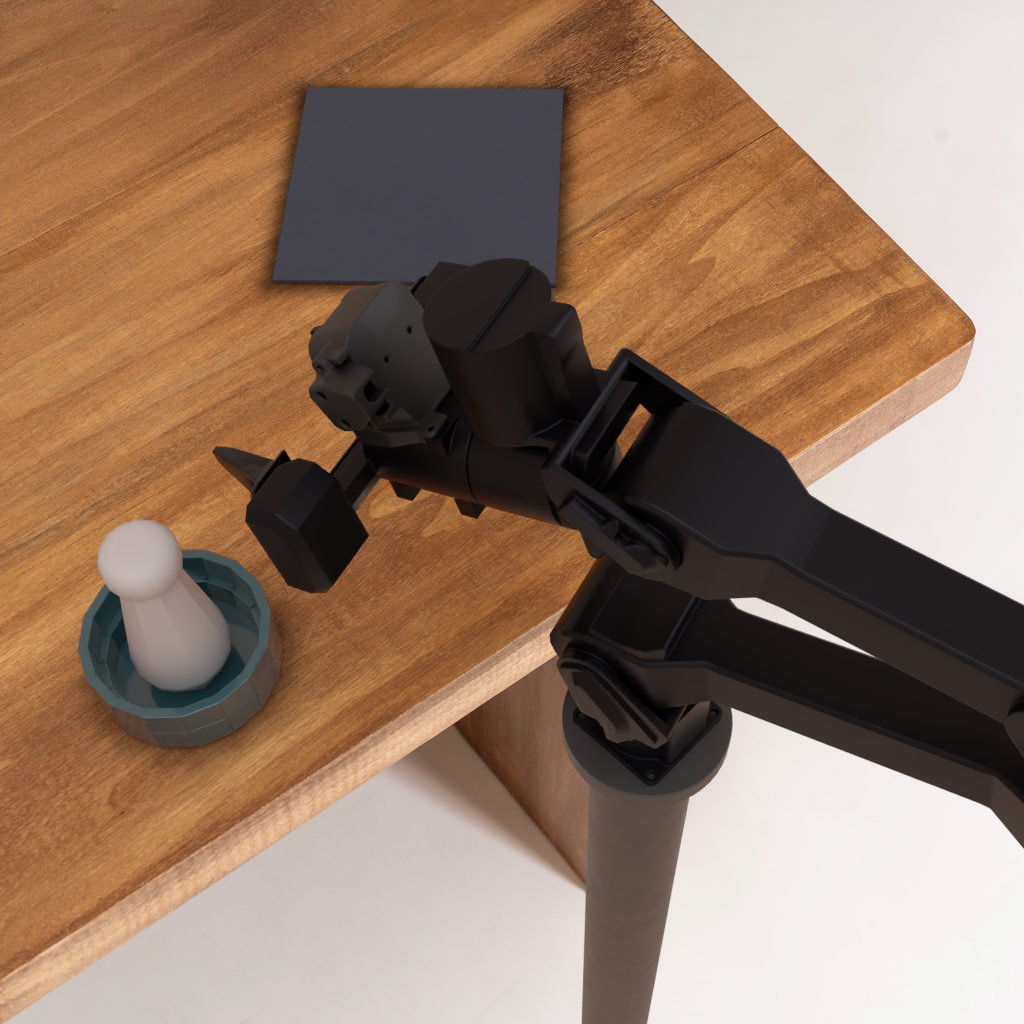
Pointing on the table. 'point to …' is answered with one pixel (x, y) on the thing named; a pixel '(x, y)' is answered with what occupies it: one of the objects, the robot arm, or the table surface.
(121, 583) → the salt shaker
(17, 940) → the table surface
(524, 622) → the table surface
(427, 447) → the robot arm
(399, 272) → the cloth
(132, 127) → the table surface
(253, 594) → the blue-grey round bowl
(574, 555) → the table surface
